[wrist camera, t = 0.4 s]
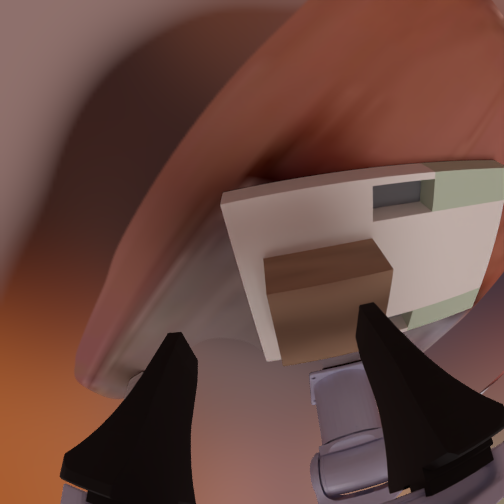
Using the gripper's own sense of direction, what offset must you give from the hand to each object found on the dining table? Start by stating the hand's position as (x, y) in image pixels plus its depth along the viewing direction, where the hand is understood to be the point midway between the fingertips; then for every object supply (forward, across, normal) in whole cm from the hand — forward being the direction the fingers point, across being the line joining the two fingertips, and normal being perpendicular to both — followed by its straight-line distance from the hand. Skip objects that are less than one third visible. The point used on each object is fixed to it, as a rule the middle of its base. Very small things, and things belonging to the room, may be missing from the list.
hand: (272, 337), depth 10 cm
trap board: (+10, -10, +5) cm, 15 cm away
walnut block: (+8, -4, +5) cm, 10 cm away
